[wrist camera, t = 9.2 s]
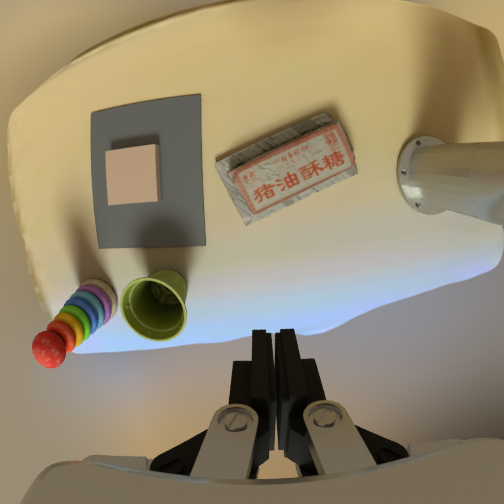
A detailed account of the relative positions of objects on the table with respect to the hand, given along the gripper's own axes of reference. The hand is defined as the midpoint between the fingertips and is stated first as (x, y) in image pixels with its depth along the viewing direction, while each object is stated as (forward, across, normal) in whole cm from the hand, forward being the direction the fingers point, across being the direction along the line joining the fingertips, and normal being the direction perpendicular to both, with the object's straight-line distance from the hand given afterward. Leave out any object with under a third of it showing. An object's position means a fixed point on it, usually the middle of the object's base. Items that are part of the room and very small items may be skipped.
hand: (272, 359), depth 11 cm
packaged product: (+32, -4, -8) cm, 33 cm away
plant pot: (+31, +14, +10) cm, 36 cm away
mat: (+31, +17, -8) cm, 36 cm away
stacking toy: (+31, +28, +12) cm, 44 cm away
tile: (+30, +14, -8) cm, 34 cm away
